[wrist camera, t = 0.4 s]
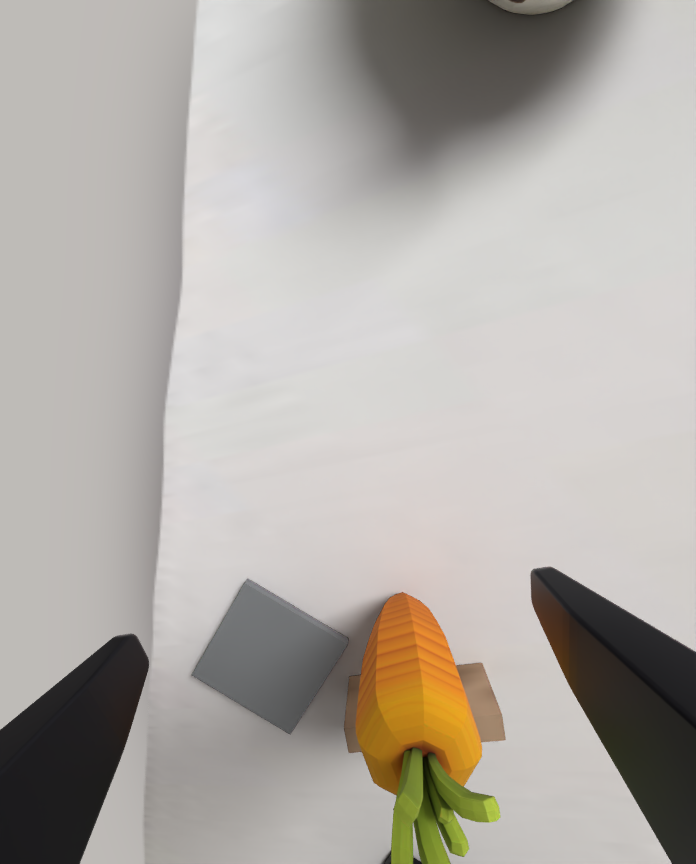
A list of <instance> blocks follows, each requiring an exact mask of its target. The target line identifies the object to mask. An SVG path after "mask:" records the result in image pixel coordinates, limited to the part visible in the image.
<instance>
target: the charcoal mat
mask: <svg viewBox="0 0 696 864" xmlns="http://www.w3.org/2000/svg"><path fill="white" fill-rule="evenodd" d="M347 645H348V638H347V637H345V636H343V635H342V634H340V633H338V632H337V631H335V630H333V629H332V628H330V627H328V626H327V625H325V624H323V623H322V622H320V621H318V620H317V619H315V618H313V617H312V616H310V615H308V614H306V613H305V612H303V611H301V610H300V609H298V608H296V607H295V606H293V605H291V604H290V603H288V602H286V601H285V600H283V599H281V598H280V597H278V596H276V595H275V594H273V593H271V592H270V591H268V590H266V589H265V588H263V587H261V586H259V585H258V584H256V583H254V582H253V581H251V580H249V579H247V580H246V582H245V583H244V585H243V587H242V588H241V590H240V592H239V594H238V595H237V597H236V599H235V601H234V602H233V604H232V606H231V607H230V609H229V611H228V613H227V614H226V616H225V618H224V620H223V621H222V623H221V625H220V627H219V628H218V630H217V632H216V634H215V635H214V637H213V639H212V640H211V642H210V644H209V646H208V647H207V649H206V651H205V653H204V654H203V656H202V658H201V660H200V661H199V663H198V665H197V667H196V668H195V670H194V672H193V674H192V676H194V677H196V678H197V679H199V680H201V681H202V682H204V683H206V684H207V685H209V686H210V687H212V688H214V689H215V690H217V691H219V692H220V693H222V694H224V695H225V696H227V697H229V698H230V699H232V700H234V701H235V702H237V703H239V704H240V705H242V706H244V707H245V708H247V709H249V710H250V711H252V712H254V713H255V714H257V715H259V716H260V717H262V718H264V719H265V720H267V721H269V722H270V723H272V724H274V725H275V726H277V727H279V728H280V729H282V730H284V731H285V732H287V733H288V734H291V733H292V731H293V730H294V728H295V726H296V725H297V723H298V722H299V720H300V719H301V717H302V715H303V714H304V712H305V711H306V709H307V708H308V706H309V705H310V703H311V701H312V700H313V698H314V697H315V695H316V694H317V692H318V690H319V689H320V687H321V686H322V684H323V683H324V681H325V679H326V678H327V676H328V675H329V673H330V672H331V670H332V668H333V667H334V665H335V664H336V662H337V661H338V659H339V657H340V656H341V654H342V653H343V651H344V650H345V648H346V647H347Z"/></svg>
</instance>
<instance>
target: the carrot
mask: <svg viewBox="0 0 696 864" xmlns="http://www.w3.org/2000/svg"><path fill="white" fill-rule="evenodd" d="M356 735H357V739H358V743H359V745H360V748H361V751H362V753H363V756H364V758H365V761H366V764H367V766H368V769H369V771H370V774H371V777H372V779H373V782H374V783H375V784H377V785H378V786H379V787H381V788H383V789H385V790H387V791H389V792H391V793H393V794H395V795H397V797H396V803H395V806H394V809H393V810H394V814H393V829H392V844H391V864H413V824H412V823H413V822H414V828H415V833H416V839H417V845H418V850H419V856H420V859H421V862H422V864H451V863H450V861H449V858H448V856H447V853H446V851H445V848H444V846H443V843H442V840H441V837H440V834H439V830H438V827H439V829H440V831H441V834H442V836H443V838H444V840H445V842H446V845H447V847H448V849H449V851H450V853H452V854H455V855H458V856H462V857H464V856H465V854H466V853H467V851H468V850H469V846H468V841H467V839H466V837H465V835H464V833H463V831H462V829H461V827H460V825H459V823H458V821H457V819H456V817H455V815H454V813H453V810H454V811H455V812H456V813H458V814H459V815H460V816H461V817H462V818H465V819H469V820H472V821H476V822H494V821H497V820H498V819H499V818H500V811H499V806H498V804H497V802H496V799H495V797H493V796H488V795H484V794H478V793H473V792H471V791H469V790H468V789H466V788H464V785H465V784H466V782H467V780H468V779H469V777H470V775H471V774H472V772H473V770H474V769H475V767H476V765H477V764H478V762H479V760H480V759H481V757H482V745H481V740H480V736H479V733H478V730H477V726H476V723H475V720H474V717H473V714H472V711H471V708H470V705H469V702H468V699H467V696H466V693H465V690H464V687H463V685H462V682H461V679H460V676H459V673H458V671H457V668H456V665H455V662H454V659H453V657H452V654H451V651H450V648H449V646H448V643H447V640H446V637H445V635H444V633H443V631H442V630H441V628H440V626H439V624H438V622H437V621H436V619H435V618H434V616H433V614H432V613H431V611H430V610H429V608H428V607H426V606H425V605H424V604H423V603H422V602H421V601H419V600H417V599H415V598H413V597H412V596H410V595H407V594H405V593H403V592H402V593H398V594H396V595H394V596H392V597H390V598H389V599H388V601H387V602H386V603H385V605H384V607H383V609H382V611H381V613H380V614H379V616H378V618H377V620H376V622H375V624H374V627H373V630H372V632H371V635H370V638H369V641H368V644H367V647H366V651H365V654H364V658H363V663H362V670H361V678H360V685H359V694H358V704H357V714H356ZM436 823H437V824H436ZM437 825H438V827H437Z"/></svg>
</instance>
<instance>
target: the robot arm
mask: <svg viewBox="0 0 696 864" xmlns="http://www.w3.org/2000/svg"><path fill="white" fill-rule="evenodd" d="M531 599H532V604H533V607H534V610H535V612H536V614H537V617H538V619H539V621H540V623H541V625H542V628H543V630H544V632H545V634H546V636H547V639H548V641H549V643H550V645H551V647H552V649H553V652H554V654H555V656H556V658H557V660H558V663H559V665H560V667H561V669H562V671H563V673H564V675H565V678H566V680H567V682H568V684H569V686H570V688H571V689H572V691H573V693H574V695H575V697H576V698H577V700H578V702H579V704H580V705H581V707H582V709H583V711H584V712H585V714H586V716H587V717H588V719H589V721H590V723H591V724H592V726H593V728H594V730H595V731H596V733H597V735H598V736H599V738H600V740H601V742H602V743H603V745H604V747H605V749H606V750H607V752H608V754H609V755H610V757H611V759H612V761H613V762H614V764H615V766H616V768H617V769H618V771H619V773H620V774H621V776H622V778H623V780H624V781H625V783H626V785H627V787H628V788H629V790H630V792H631V793H632V795H633V797H634V799H635V800H636V802H637V804H638V806H639V807H640V809H641V811H642V812H643V814H644V816H645V818H646V819H647V821H648V823H649V825H650V826H651V828H652V830H653V832H654V833H655V835H656V837H657V838H658V840H659V842H660V844H661V845H662V847H663V849H664V851H665V852H666V854H667V856H668V857H669V859H670V861H671V863H672V864H696V652H695V651H693V650H692V649H690V648H688V647H687V646H685V645H683V644H682V643H680V642H678V641H676V640H675V639H673V638H671V637H670V636H668V635H666V634H665V633H663V632H661V631H660V630H658V629H656V628H655V627H653V626H651V625H649V624H648V623H646V622H644V621H643V620H641V619H639V618H638V617H636V616H634V615H633V614H631V613H629V612H627V611H626V610H624V609H622V608H621V607H619V606H617V605H616V604H614V603H612V602H611V601H609V600H607V599H606V598H604V597H602V596H600V595H599V594H597V593H595V592H594V591H592V590H590V589H589V588H587V587H585V586H584V585H582V584H580V583H578V582H577V581H575V580H573V579H572V578H570V577H568V576H567V575H565V574H563V573H562V572H560V571H558V570H557V569H555V568H553V567H543V568H537V569H533V570H532V571H531ZM148 668H149V660H148V657H147V655H146V653H145V651H144V649H143V647H142V645H141V643H140V642H139V639H138V638H137V636H136V635H134V634H125V635H119V636H116V637H114V638H112V639H111V640H110V641H108V642H107V643H106V644H105V645H104V646H102V647H101V648H100V649H99V650H97V651H96V652H95V653H94V654H93V655H91V656H90V657H89V658H88V659H86V660H85V661H84V662H83V663H82V664H80V665H79V666H78V667H77V668H75V669H74V670H73V671H72V672H71V673H69V674H68V675H67V676H66V677H64V678H63V679H62V680H61V681H60V682H59V683H57V684H56V685H55V686H53V687H52V688H51V689H50V690H49V691H47V692H46V693H45V694H44V695H42V696H41V697H40V698H39V699H38V700H36V701H35V702H34V703H33V704H31V705H30V706H29V707H28V708H27V709H25V710H24V711H23V712H22V713H20V714H19V715H18V716H17V717H16V718H14V719H13V720H12V721H11V722H9V723H8V724H7V725H6V726H5V727H3V728H2V729H1V730H0V864H80V861H81V859H82V856H83V854H84V851H85V849H86V846H87V843H88V841H89V838H90V836H91V833H92V830H93V828H94V826H95V823H96V820H97V818H98V815H99V813H100V810H101V807H102V805H103V802H104V800H105V797H106V795H107V792H108V790H109V787H110V784H111V782H112V779H113V777H114V774H115V772H116V769H117V767H118V764H119V761H120V759H121V756H122V753H123V750H124V747H125V744H126V742H127V738H128V736H129V732H130V729H131V726H132V722H133V719H134V715H135V712H136V709H137V706H138V702H139V699H140V696H141V692H142V689H143V686H144V682H145V679H146V676H147V672H148ZM384 864H391V855H390V856H389V858H388V859H387V860H386V862H385V863H384ZM413 864H422V862H420V861H418V860H417V859H415V858H413Z"/></svg>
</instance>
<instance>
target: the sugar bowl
mask: <svg viewBox="0 0 696 864" xmlns="http://www.w3.org/2000/svg"><path fill="white" fill-rule="evenodd" d="M488 1H490V2H491V3H493V4H495V5H497V6H499V7H500V8H502V9H504V10H507V11H510V12H512V13H520V14H528V15H534V14H542V13H548V12H552V11H554V10H557V9H559V8H562V7H563V6H565V5H567V4H568V3H570V2H572V1H573V0H488Z"/></svg>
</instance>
